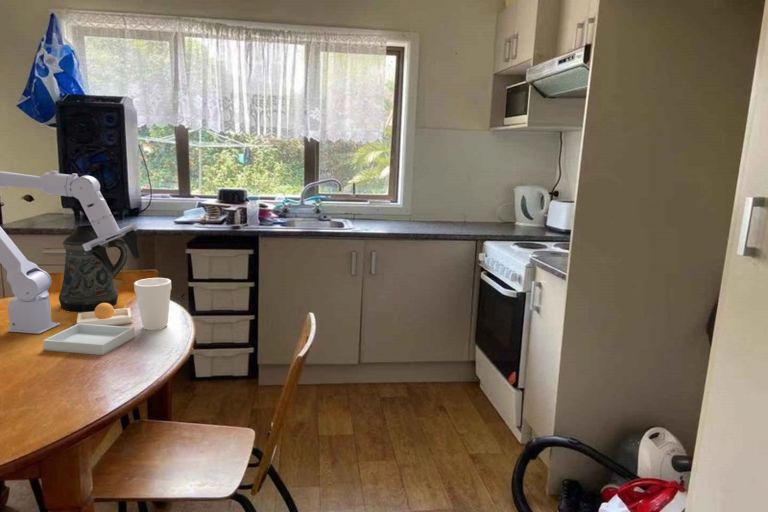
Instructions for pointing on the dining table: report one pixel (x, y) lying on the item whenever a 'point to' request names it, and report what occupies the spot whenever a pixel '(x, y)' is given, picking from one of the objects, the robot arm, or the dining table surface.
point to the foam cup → (153, 301)
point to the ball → (104, 311)
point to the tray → (89, 339)
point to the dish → (117, 319)
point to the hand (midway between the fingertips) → (124, 264)
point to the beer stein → (88, 273)
